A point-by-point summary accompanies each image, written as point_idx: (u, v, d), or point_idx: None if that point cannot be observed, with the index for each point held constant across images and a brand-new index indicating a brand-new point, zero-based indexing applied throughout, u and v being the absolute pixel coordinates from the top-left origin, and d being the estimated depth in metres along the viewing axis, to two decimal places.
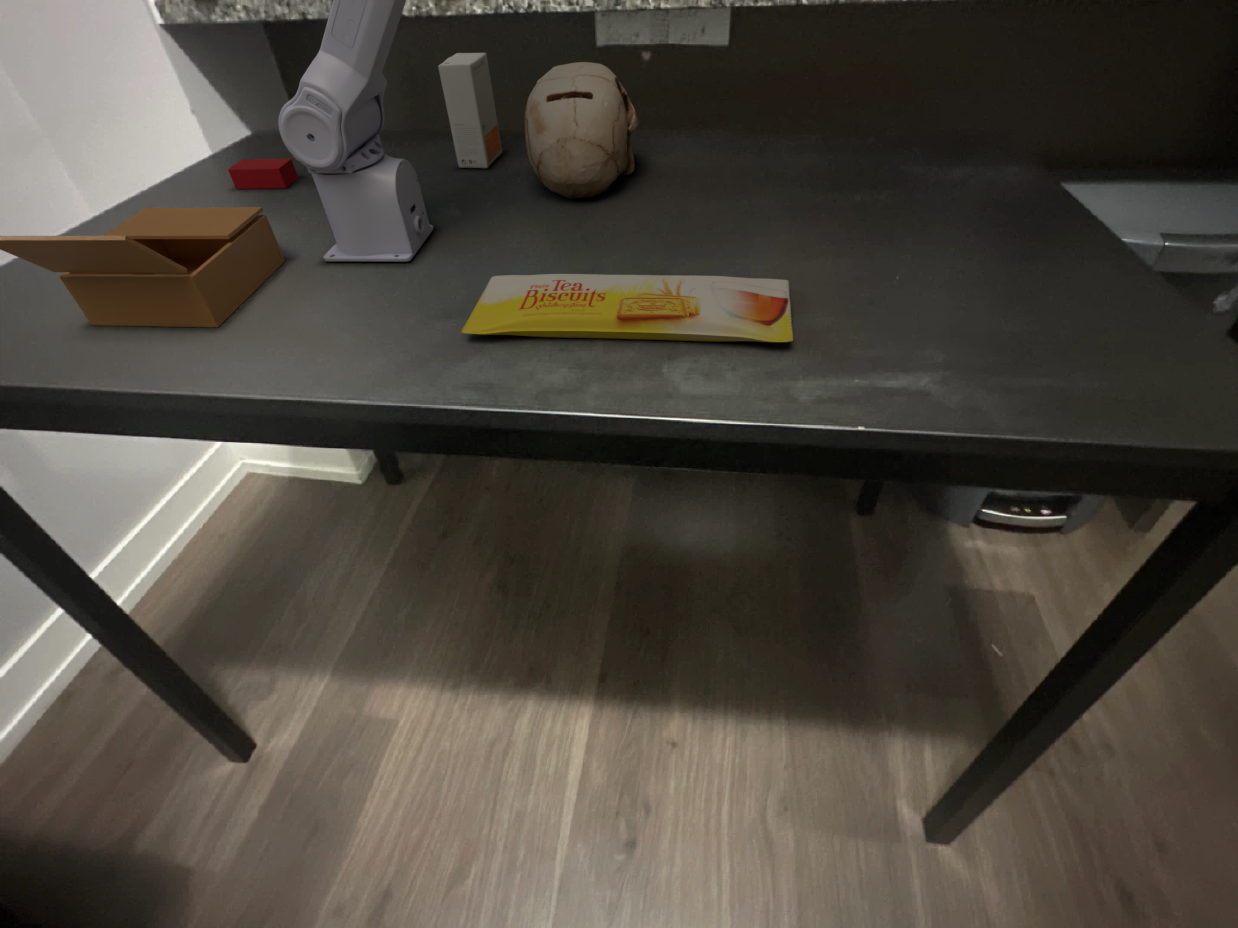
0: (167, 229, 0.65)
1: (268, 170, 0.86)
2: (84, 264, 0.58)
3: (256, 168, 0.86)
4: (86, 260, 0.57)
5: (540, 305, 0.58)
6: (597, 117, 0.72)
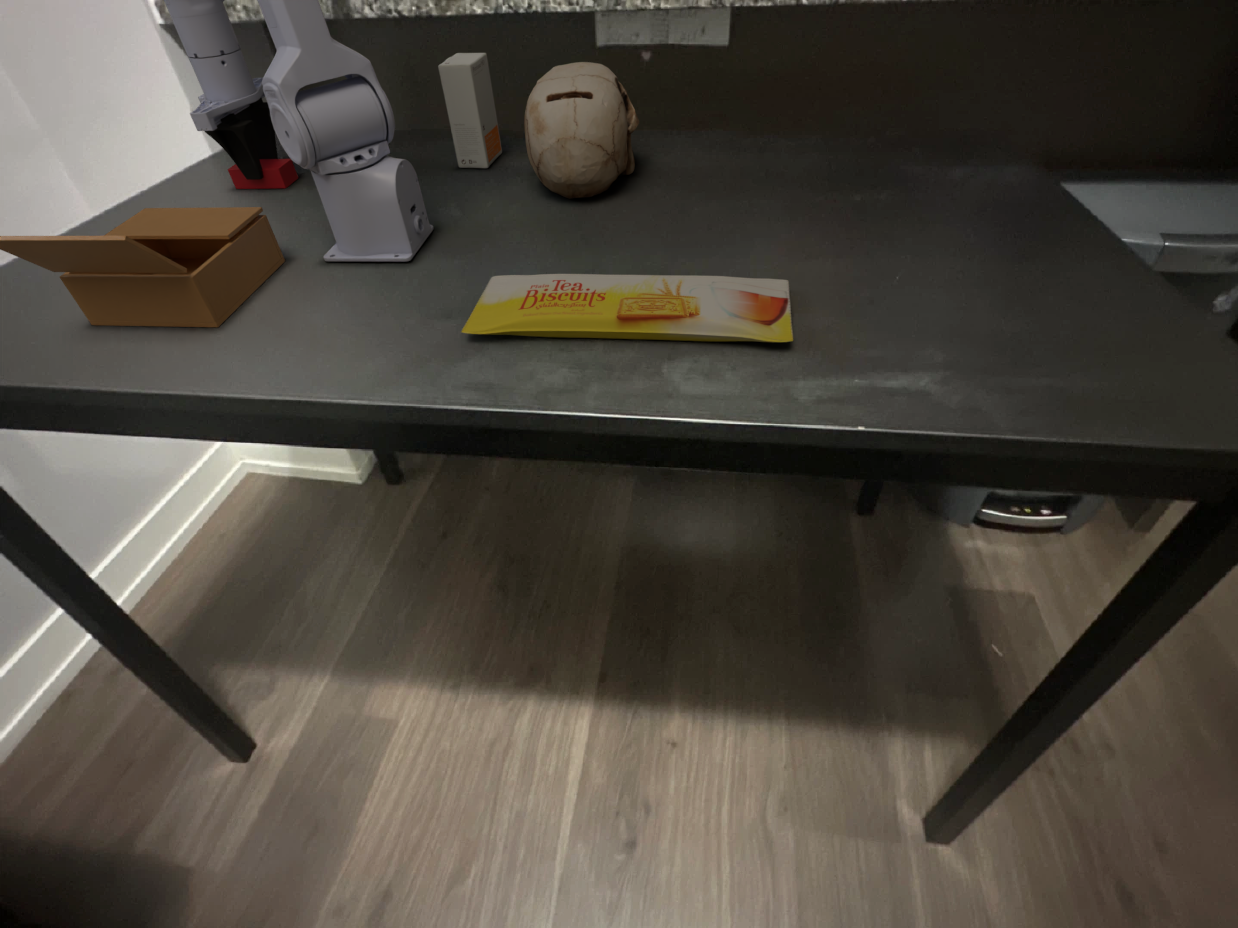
0: (167, 229, 0.65)
1: (268, 170, 0.86)
2: (84, 264, 0.58)
3: None
4: (86, 260, 0.57)
5: (540, 305, 0.58)
6: (597, 117, 0.72)
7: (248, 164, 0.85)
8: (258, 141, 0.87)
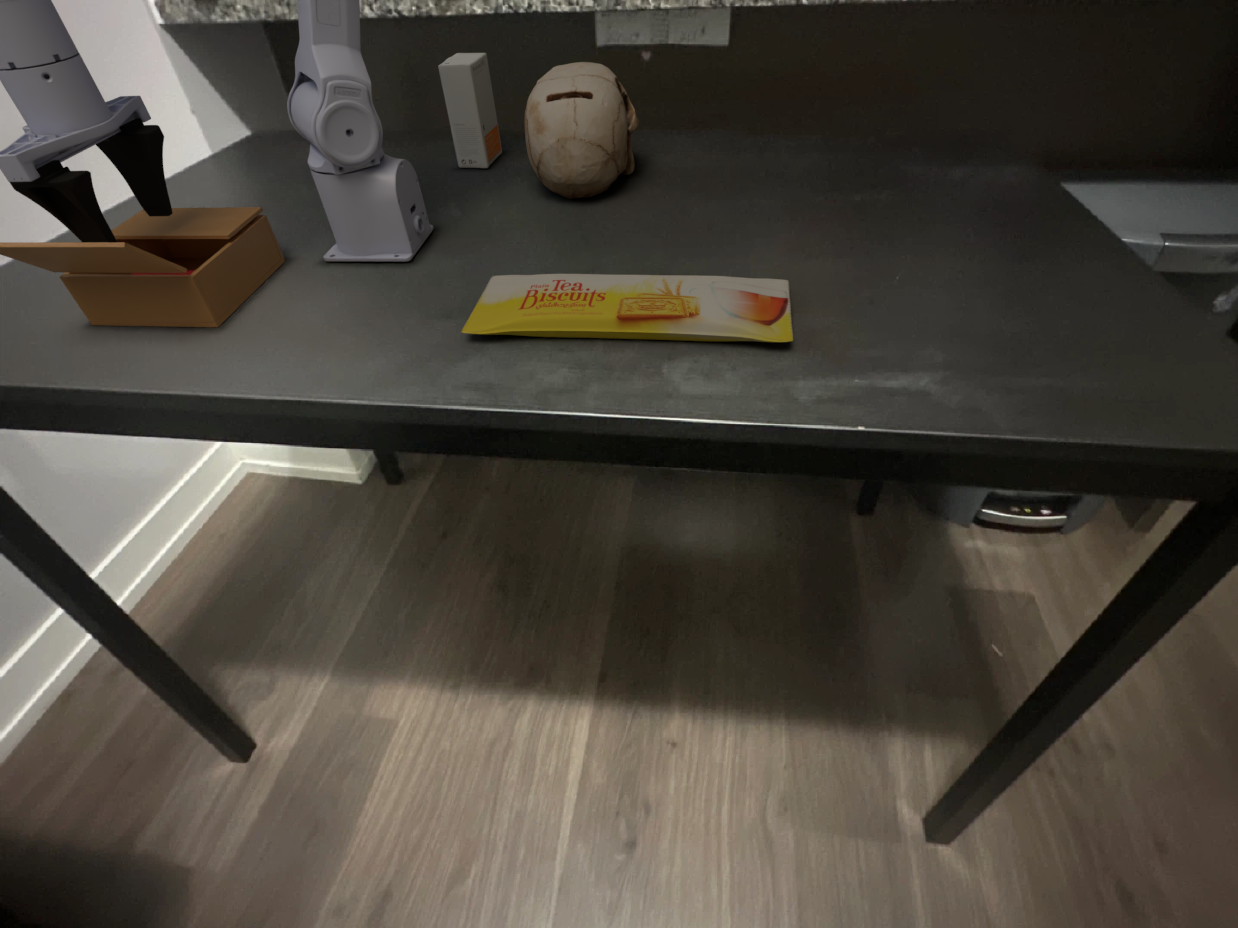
0: (167, 229, 0.65)
1: None
2: (84, 266, 0.58)
3: None
4: (86, 262, 0.57)
5: (540, 304, 0.58)
6: (597, 117, 0.72)
7: (92, 234, 0.56)
8: (139, 180, 0.61)
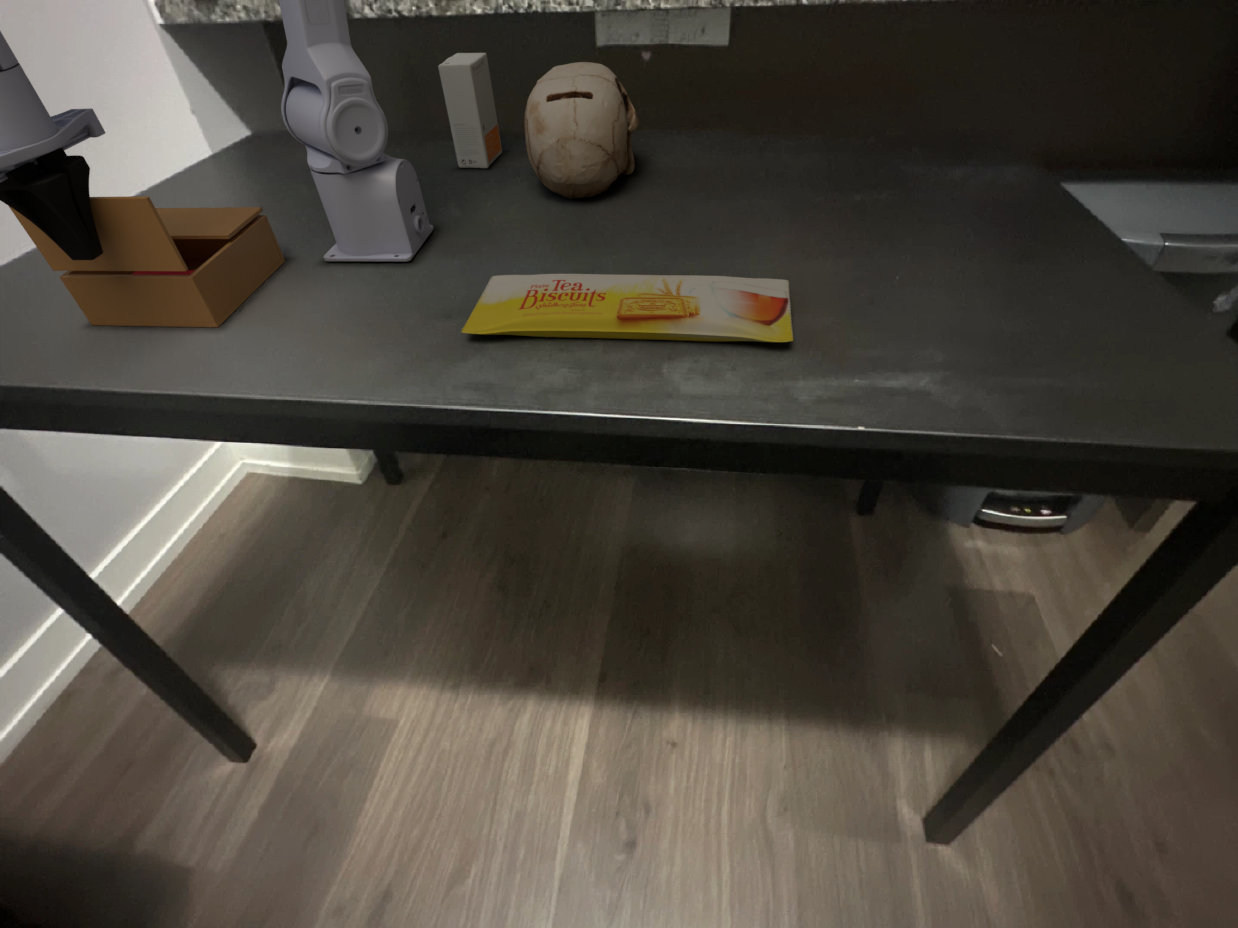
0: (167, 229, 0.65)
1: None
2: None
3: None
4: None
5: (540, 304, 0.58)
6: (597, 117, 0.72)
7: (70, 238, 0.54)
8: None
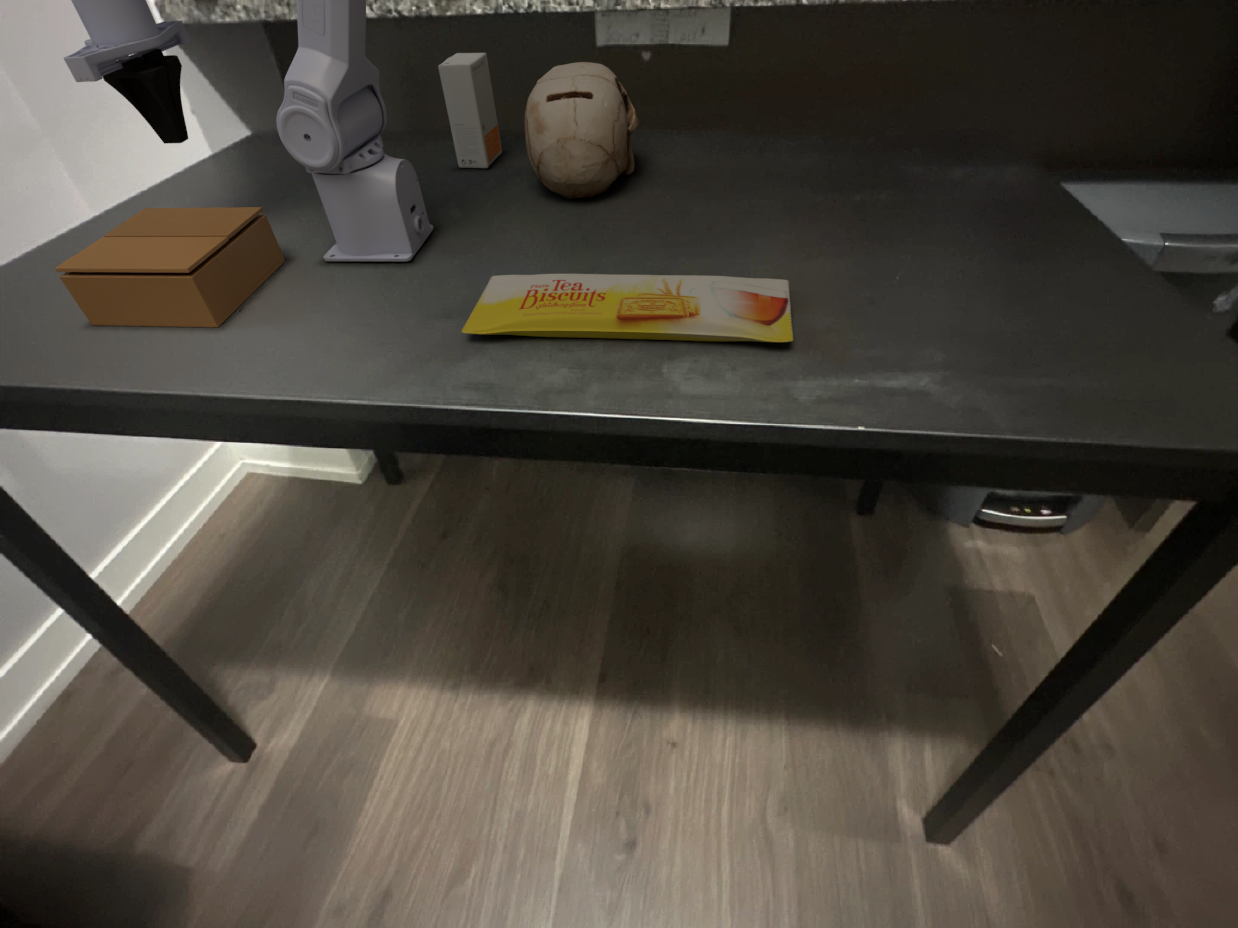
0: (167, 229, 0.65)
1: None
2: (116, 258, 0.61)
3: None
4: (133, 254, 0.61)
5: (540, 304, 0.58)
6: (597, 117, 0.72)
7: (164, 123, 0.68)
8: None
